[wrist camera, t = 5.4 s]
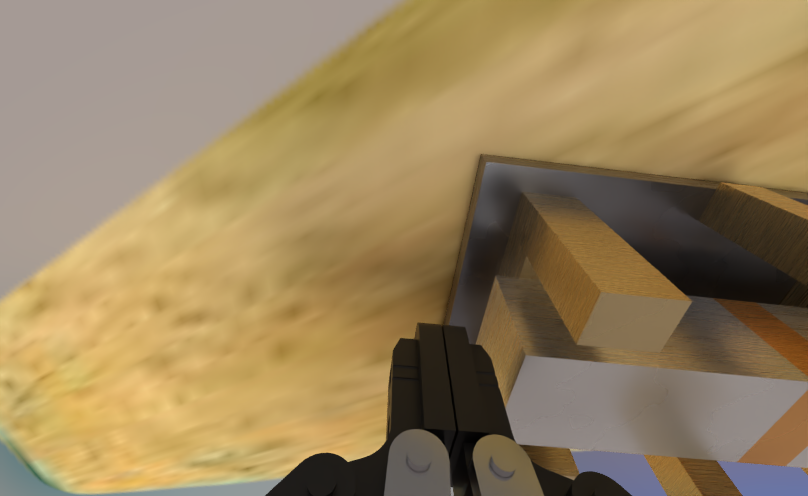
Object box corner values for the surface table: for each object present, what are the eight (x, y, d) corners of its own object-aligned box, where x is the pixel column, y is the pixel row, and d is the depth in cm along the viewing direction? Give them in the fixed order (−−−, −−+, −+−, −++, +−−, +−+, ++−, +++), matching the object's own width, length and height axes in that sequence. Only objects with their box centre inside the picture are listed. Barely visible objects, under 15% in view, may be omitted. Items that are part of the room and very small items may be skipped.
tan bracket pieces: (888, 233, 13) (1196, 353, 8) (757, 383, 17) (908, 528, 12) (522, 191, 13) (601, 291, 8) (474, 357, 17) (503, 498, 12)
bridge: (761, 187, 13) (1560, 503, 4) (633, 389, 18) (853, 722, 9) (720, 182, 12) (1439, 493, 4) (604, 386, 18) (796, 719, 9)
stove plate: (888, 202, 14) (920, 213, 13) (740, 380, 19) (757, 396, 18) (481, 154, 13) (486, 161, 12) (437, 352, 18) (439, 368, 17)
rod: (1034, 331, 13) (1233, 422, 10) (949, 397, 15) (1095, 491, 12) (495, 275, 12) (526, 355, 9) (473, 352, 14) (491, 442, 11)
